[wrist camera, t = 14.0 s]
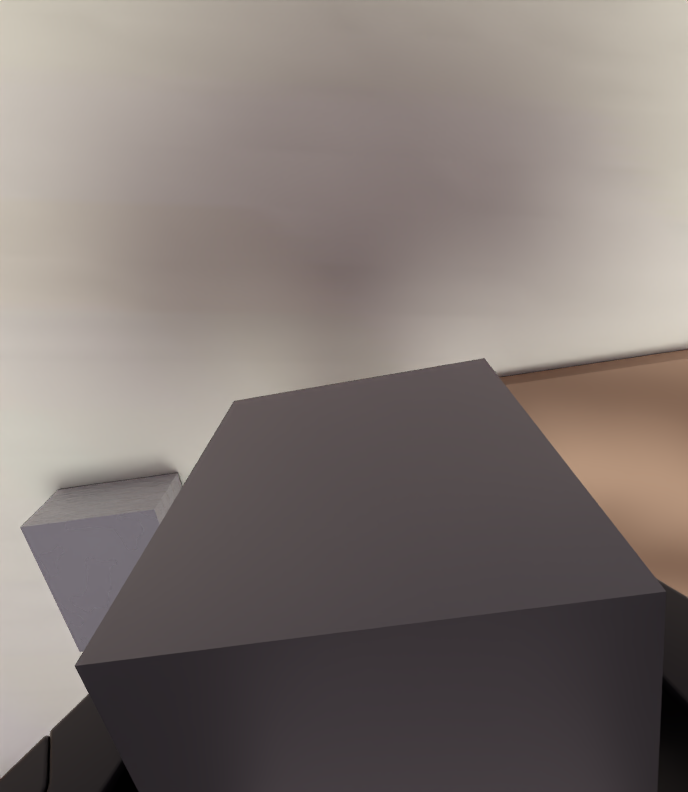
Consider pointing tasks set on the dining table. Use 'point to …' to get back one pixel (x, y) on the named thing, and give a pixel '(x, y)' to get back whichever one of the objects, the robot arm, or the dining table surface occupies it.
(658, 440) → the walnut board
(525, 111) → the dining table surface
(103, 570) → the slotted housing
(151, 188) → the dining table surface
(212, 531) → the plug
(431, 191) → the dining table surface
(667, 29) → the dining table surface
